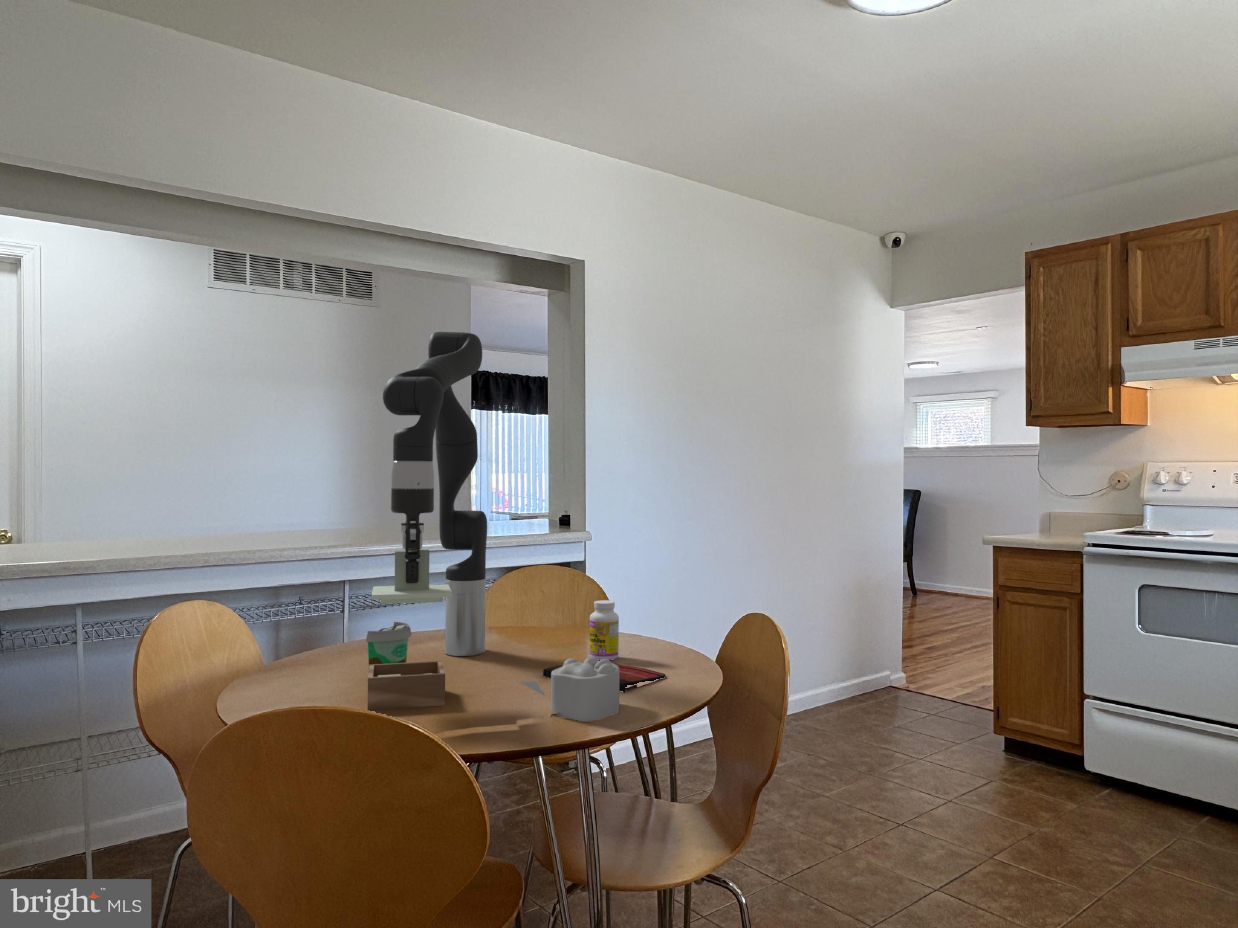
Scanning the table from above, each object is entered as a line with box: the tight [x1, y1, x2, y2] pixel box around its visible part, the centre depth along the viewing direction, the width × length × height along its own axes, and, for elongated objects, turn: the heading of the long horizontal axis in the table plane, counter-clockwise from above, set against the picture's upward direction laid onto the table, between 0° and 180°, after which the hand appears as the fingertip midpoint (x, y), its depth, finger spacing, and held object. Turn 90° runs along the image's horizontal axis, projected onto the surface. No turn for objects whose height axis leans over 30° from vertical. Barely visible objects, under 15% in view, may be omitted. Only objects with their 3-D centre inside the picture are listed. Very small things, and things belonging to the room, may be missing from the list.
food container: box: [365, 621, 412, 667], centre depth 168 cm, size 12×6×10 cm, turn 168°
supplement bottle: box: [588, 599, 620, 660], centre depth 185 cm, size 7×7×13 cm
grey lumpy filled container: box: [550, 656, 620, 723], centre depth 143 cm, size 10×13×9 cm
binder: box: [542, 662, 667, 693], centre depth 167 cm, size 16×2×21 cm
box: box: [367, 660, 446, 711], centre depth 146 cm, size 11×13×6 cm
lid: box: [370, 549, 452, 605], centre depth 147 cm, size 12×14×9 cm
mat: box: [519, 680, 547, 697], centre depth 153 cm, size 14×14×1 cm
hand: (411, 581), depth 147 cm, fingers closed on lid, 3 cm apart
